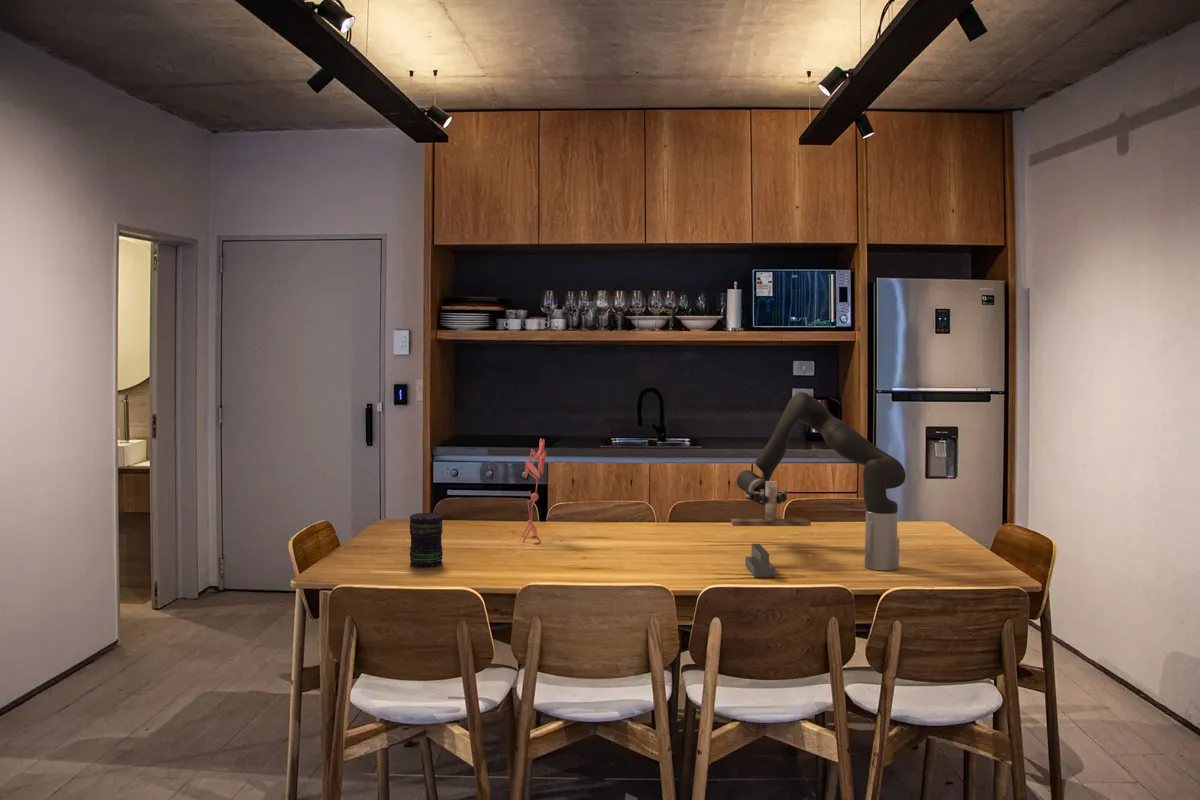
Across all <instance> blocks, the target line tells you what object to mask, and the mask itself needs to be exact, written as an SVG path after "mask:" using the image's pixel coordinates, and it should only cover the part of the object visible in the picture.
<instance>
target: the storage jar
mask: <svg viewBox="0 0 1200 800" xmlns="http://www.w3.org/2000/svg"><path fill="white" fill-rule="evenodd" d="M442 519H443V514H440V513H435V512H422V513H421V512H420V513H413V514H411V515H409V535H410V547H409V560H410V563H409V566H410V567H412V568H415V569H433V568H438V567H441V566H443V555H444V553H443V545H442V534H443V525H444V524H443V520H442Z"/></svg>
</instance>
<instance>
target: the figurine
mask: <svg viewBox="0 0 1200 800" xmlns="http://www.w3.org/2000/svg"><path fill="white" fill-rule="evenodd" d="M545 444H546V443H545V439H544V438H540V439H539V444H538V445H539V446H538V451H537V452H536V451H535V449H533V448H531V449H530V454H529V457H528V460H527V459H526V460H525V461H524V462H525V466H524V467H525V468H524V479H527V476H528V474H529V475H530V476H532V477H533V478H534V479H535V480H536V485H535V492H533V493H531V495H530V500H528V501H527V508H528V509H527V510H528V516H529V519H527V525H526V528H525V529H524V531H523V533H522V535H521V537H522V538H523V540H522V542H523V543H525V541H526V539H527V537H528V536H529V533H530V532H532V533H533V535H534V536H535V538H536V539H537V541H539V543H542V541H541V539H540V536H539V535H538V529H537V527H536V525H535V524H534V522H533V506H534V504H535V502H536V501H538V499H539V494H538V493H537V491H538V483H539V479H540V478H541V475H543V474H544V463H545V461H546V459H547V451H546V450H545ZM532 456H533V457H534V459H533V461H532V462H530V461H531V459H532ZM536 461H537V463H538V465H537V467H538V469H537V468H536V467H535V465H534V463H535V462H536ZM540 474H541V475H540ZM531 501H533V502H532V504H531V506H530V502H531ZM548 534H550V535H554V536H558V537H560V538H562V536H561V535H560V534H555V533H550V532H548ZM559 541H560V543H561V542H562V540H559ZM523 543H522V544H520V545H521V546H523Z"/></svg>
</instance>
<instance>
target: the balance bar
mask: <svg viewBox="0 0 1200 800" xmlns="http://www.w3.org/2000/svg"><path fill="white" fill-rule="evenodd" d="M777 491H778V481H775V480H770V481H766V492H765V495H766V496H767V497H768V503H767V504H765V505H764V508H765V509H764V518H731V519H730V524H731V525H732V526H733V527H811V525H812V524H811V523H812V521H811V520H810V519H809V518H777V512H778V511H777V510H778V509H777V507H778V506H777V505H778V503H777Z"/></svg>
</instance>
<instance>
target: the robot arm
mask: <svg viewBox="0 0 1200 800" xmlns="http://www.w3.org/2000/svg"><path fill="white" fill-rule="evenodd" d="M798 421H799V422H800V423H802V424H804V425H806V426H808V427H809V428H811V429H813V430H814V431H816V432H818V433H819V434H820V435H821V436H822V438H823V440H824V442H825V443H826V444H827V446H828V447H830V449H832V450H833V451H834V452H836V453H837V454H838V455H839V456H840V457H842V458H845V459H847V460H850V461H852V462H854V463H857V464H859V465H863V466H864V468H863V472H862V473H863V474H862V483H863V484H862V485H863V501H864V504H865V526H864V527H865V536H864V567H865V568H867V569H869V570H874V571H875V570H876V571H894V570H899V567H900V564H899V563H900V538H899V537H898V512H899V511H898V509H899V508H898V506H899V505H898V503H897V502H896V501H894V500H892V499H889V497H888V496H887V490H888V489H889V490H890V489H895V488H899V487H901V486H902V485H903V484H904V483H905V481H906V476H907V475H906V470H905V468H904V466H903V464H902V463H901V462H900V460H898V459H896V458H895V457H893V456H892V455H890V454H889V453H887V452H885V451H883V450H881V449H880V448H879V447H877V446H875V445H874V444H873V443H872V442H871V441H869V440H868V439H867V438H866V437H864V436H862V435H861V434H860V433H859V432H858V431H857V430H856V429H854V428H853V427H852V426H850V425H849V424H848V423H847V422H844V421H843V420H841V419H839V418H837V417H835V416H834V415H832V413H831V412H830V411H829V410H828V409H827V408H826V407H825V405H823V404H822V403H821V402H820V401H819V400H818V399H816V397H815V398H814V397H813V396H812V395H810V394H809V393H806V392H804V391H802V392H801V391H799V392H797V393H795V394H794V395H792V397H791V398H790V399H789V401H788V403H787V405H786V406H785V409H784V411H783V412H782V415H781V417H780V419H779V420H778V423H777V425H776V427H775V429H774V431H773V433H772V435H771V437H770V439H769V440H768V442H767V443H766V445H765V446H764V447H763V450H762V451H761V452H760V453H759V455H758V456H757V458H756V460H755V465H756V467H757V468H758V469H759V470H760V471H761V472H762V476H759V475H758V474H756V473H755V472H754V471H752V470H749V469H745V470H742V471H741V472H740V473H739V474H738V476H737V478H736V484H737V485H736V486H737V487H738V488H739V489H741V490H742V491H744V492H745V500H747V501H751V502H755V503H757V504H759V505H761V506H765V504H767V503H768V497H767V496H766V495H765V492H766V481H771V479H772V476H773V473H774V472H775V470H776V469H777V467H778V466H779V464H780V463H781V462H782V460H783V458H784V457H785V455H786V452H787V449H788V443H789V440H790V439H789V438H790V434H791V432H792V429H793V427H795V426H794V425H795V424H796V423H797V422H798ZM788 494H789V493H788V491H787V490H785V491H782V492H779V491H778V490H777V505H779V504H780V505H781V504H782V503H785V502H787V500H788V496H789V495H788Z"/></svg>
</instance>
